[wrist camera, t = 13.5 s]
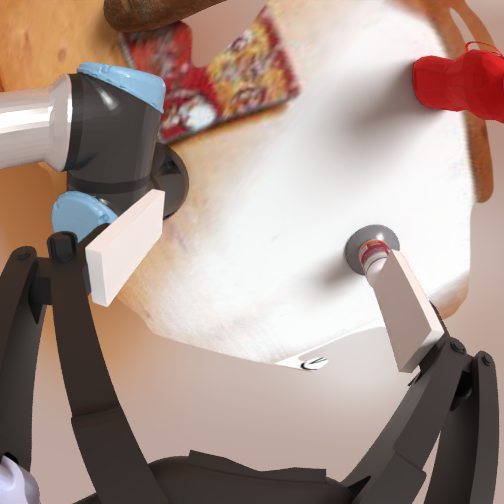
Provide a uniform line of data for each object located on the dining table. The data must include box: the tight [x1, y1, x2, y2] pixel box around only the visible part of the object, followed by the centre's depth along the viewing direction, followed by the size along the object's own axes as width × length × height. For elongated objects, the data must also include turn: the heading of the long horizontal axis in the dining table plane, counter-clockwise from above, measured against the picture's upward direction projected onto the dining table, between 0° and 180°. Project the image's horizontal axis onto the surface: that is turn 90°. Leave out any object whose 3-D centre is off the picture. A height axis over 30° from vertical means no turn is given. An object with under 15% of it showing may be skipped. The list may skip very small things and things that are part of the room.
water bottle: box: [413, 42, 504, 123], centre depth 25 cm, size 9×11×25 cm
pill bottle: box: [359, 239, 390, 287], centre depth 48 cm, size 6×6×11 cm
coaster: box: [346, 225, 400, 275], centre depth 53 cm, size 11×11×1 cm
